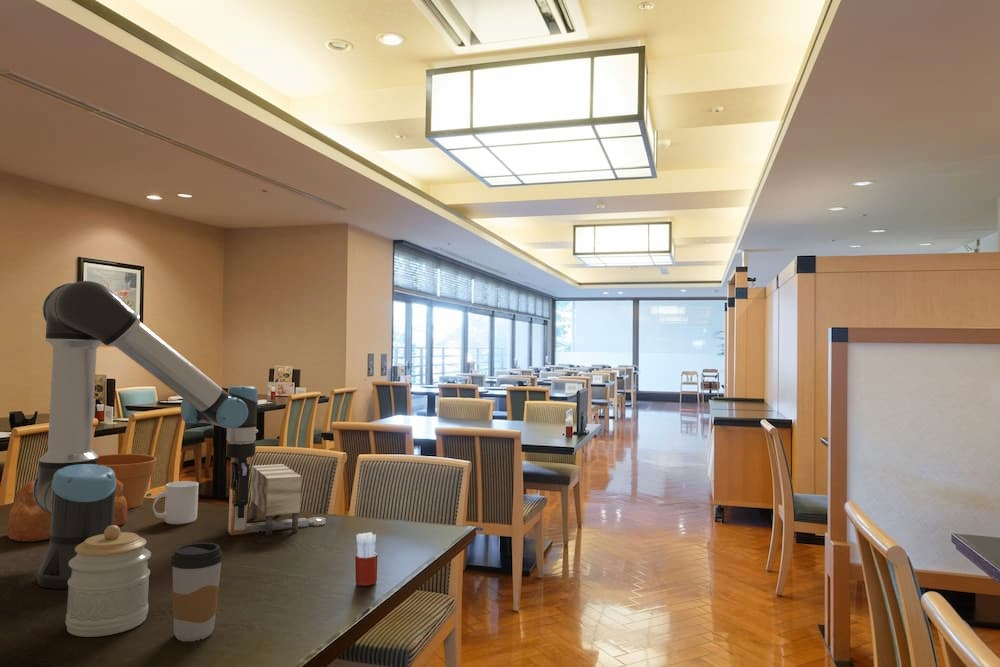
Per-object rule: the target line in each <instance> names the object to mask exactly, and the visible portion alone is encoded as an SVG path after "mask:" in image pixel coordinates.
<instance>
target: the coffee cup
mask: <svg viewBox="0 0 1000 667" xmlns="http://www.w3.org/2000/svg"><path fill="white" fill-rule="evenodd" d="M223 560H224V559H223V551H222V550H221V547H220V545H219V544H218V543H213V542H196V543H195V542H193V543H189V544H188V543H187V544H184V545H181V546H178V547H176V548H175V549H174V553H173V555H172V557H171V563H170V565H171V566H172V588H171V589H172V595H171V596H172V617H173V635H174V636H175V639H176V638H177V639H178V640H177V639H176V640H177V641H180V640H181V641H180V642H187V641H188V642H197V641H200V639H201V640H204V639H206V638H208V637H210V636H211V635H212V633H213V631H214V629H215V623H216V622H215V621H216V613H217V609H218V608H217V607H218V598H219V591H220V576H221V568H222V562H223ZM196 640H197V641H196Z"/></svg>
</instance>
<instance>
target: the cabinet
mask: <svg viewBox="0 0 1000 667" xmlns="http://www.w3.org/2000/svg"><path fill="white" fill-rule="evenodd" d="M301 493H302V475H300V474H299V473H298V472H295V471H294V470H293V469H291V468H290V467H288V466H287V465H285V464H283V463H278V464H277V463H276V464H264V465H263V464H262V465H261V464H260V465H259V464H257V465H251V485H250V500H251V515H250V516H251V518H250V520H251V519H252V520H256V519H258V509H260V510H261V512H262V513H263V514H264V516H266V517H265V522H266V531H265V536H267V537H269V536H272V535H273V534H272V532H273V530H272V521H273V516H275V517H281V516H282V515H288V514H291V516H292V517H291V519H292V528H291V533H298V531H299V527H298V518H299V513H301V497H302V495H301Z"/></svg>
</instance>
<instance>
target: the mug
mask: <svg viewBox="0 0 1000 667" xmlns="http://www.w3.org/2000/svg"><path fill="white" fill-rule="evenodd" d="M162 498H164V511H163V512H157V510H156V509H155V506H156V503H157V502H158V500H160V499H162ZM198 500H199V482H197V481H192V480H181V481H173V482H168V483H166V484H165V489H164V490H163V491H161V492H160V493H158V494H157V495H156V496H155V498H154V499H153V503H152V511H153V514H154V515H155V517H156V518H159V519H164V522H165V523H166V524H169V525H185V524H189V523H193V522H195V521H196V520H197V518H198V503H199V501H198Z"/></svg>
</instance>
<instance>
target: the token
mask: <svg viewBox="0 0 1000 667" xmlns="http://www.w3.org/2000/svg"><path fill="white" fill-rule="evenodd" d="M307 519H308V526H310V525H322V526H324V525H323V524H325V523H326V522H327V521H326V519H327V518H325V517H323V516H322V517H321V516H315V517H310V518H309V517H308V518H307ZM325 525H326V524H325Z"/></svg>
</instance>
